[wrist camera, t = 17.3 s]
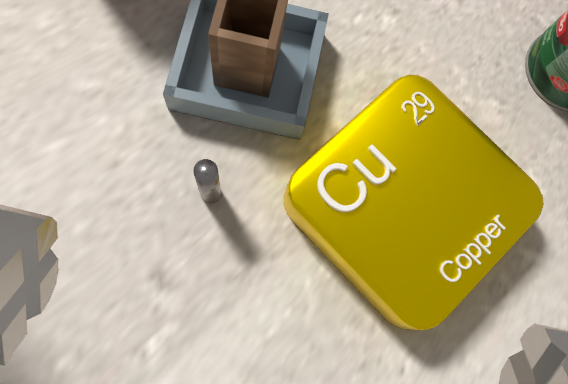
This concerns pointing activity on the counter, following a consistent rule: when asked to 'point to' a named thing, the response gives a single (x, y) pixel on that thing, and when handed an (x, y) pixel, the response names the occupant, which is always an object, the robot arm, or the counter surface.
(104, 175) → the counter surface
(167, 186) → the counter surface
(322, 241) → the element tile
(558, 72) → the canned tomato
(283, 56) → the slate tray
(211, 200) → the metal post
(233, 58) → the walnut tube
